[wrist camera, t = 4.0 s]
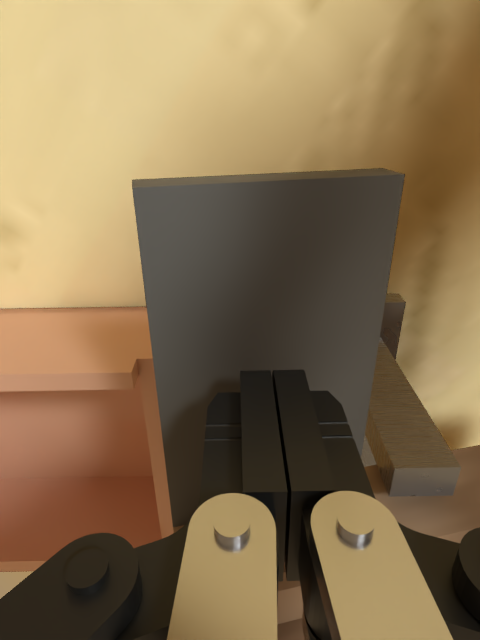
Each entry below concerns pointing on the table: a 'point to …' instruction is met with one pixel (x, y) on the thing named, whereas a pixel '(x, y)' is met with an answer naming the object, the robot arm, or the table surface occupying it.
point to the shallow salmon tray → (78, 432)
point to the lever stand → (403, 424)
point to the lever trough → (275, 316)
